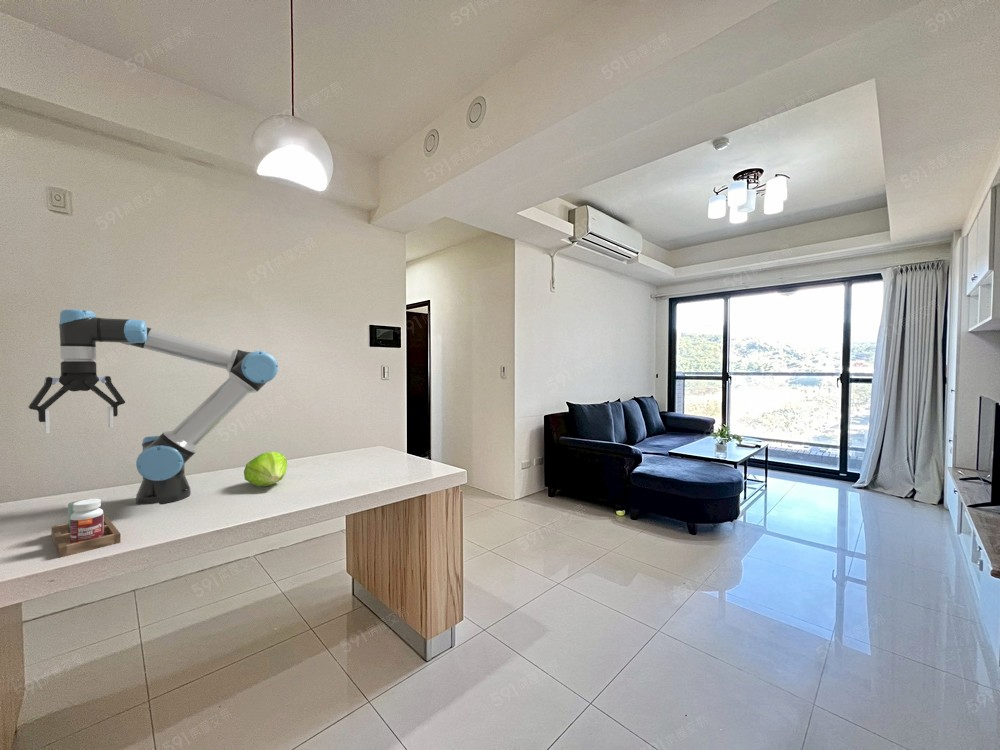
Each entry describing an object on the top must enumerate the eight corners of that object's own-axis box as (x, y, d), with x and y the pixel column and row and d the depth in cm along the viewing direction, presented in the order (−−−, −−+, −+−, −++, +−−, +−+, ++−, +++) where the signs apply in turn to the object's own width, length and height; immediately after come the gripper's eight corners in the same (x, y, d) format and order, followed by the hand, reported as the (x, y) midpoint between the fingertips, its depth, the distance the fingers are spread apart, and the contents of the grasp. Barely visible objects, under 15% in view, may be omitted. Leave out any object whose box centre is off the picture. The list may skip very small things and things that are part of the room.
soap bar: (95, 528, 116) (95, 497, 116) (98, 533, 113) (98, 501, 112) (67, 534, 112) (66, 502, 112) (69, 539, 108) (69, 507, 108)
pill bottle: (77, 550, 102) (77, 506, 102) (65, 546, 104) (64, 503, 104) (108, 541, 108) (108, 499, 108) (96, 537, 110) (95, 496, 110)
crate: (106, 525, 120) (106, 515, 120) (120, 544, 107) (120, 533, 107) (51, 537, 111) (51, 526, 111) (59, 560, 98) (59, 547, 98)
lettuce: (250, 495, 148) (250, 459, 148) (240, 483, 163) (240, 451, 163) (294, 487, 159) (294, 454, 159) (281, 477, 174) (281, 446, 173)
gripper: (129, 361, 134) (130, 423, 135) (12, 360, 114) (15, 434, 114) (136, 361, 130) (137, 425, 130) (16, 360, 109) (18, 437, 110)
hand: (80, 430), depth 122 cm, fingers open, 13 cm apart
